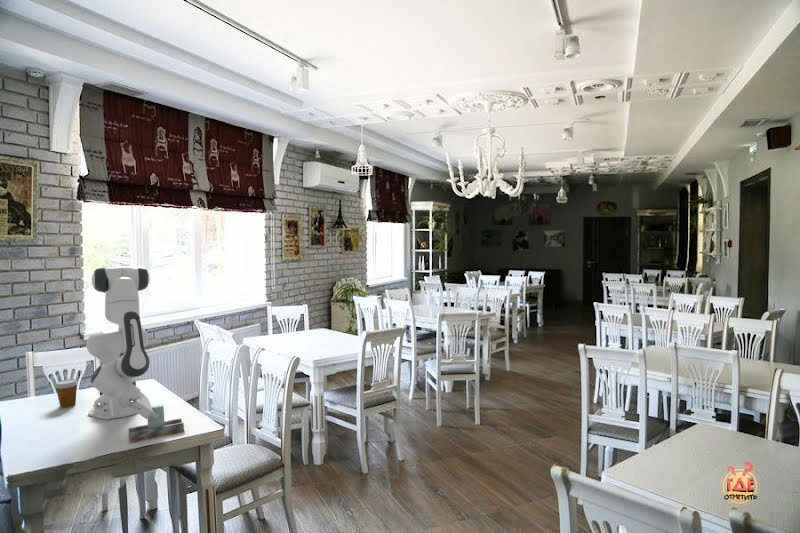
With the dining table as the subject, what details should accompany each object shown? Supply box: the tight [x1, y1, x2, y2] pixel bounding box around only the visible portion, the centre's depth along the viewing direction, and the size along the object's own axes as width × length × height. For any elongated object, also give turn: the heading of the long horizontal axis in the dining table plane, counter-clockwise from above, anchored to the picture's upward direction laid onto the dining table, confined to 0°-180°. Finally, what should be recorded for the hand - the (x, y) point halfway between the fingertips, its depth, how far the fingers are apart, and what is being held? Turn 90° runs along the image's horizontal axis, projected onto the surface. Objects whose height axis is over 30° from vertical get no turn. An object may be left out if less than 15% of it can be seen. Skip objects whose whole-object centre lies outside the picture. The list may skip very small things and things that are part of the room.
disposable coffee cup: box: [54, 378, 79, 409], centre depth 257 cm, size 10×10×12 cm
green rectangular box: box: [147, 404, 165, 429], centre depth 217 cm, size 6×2×9 cm, turn 120°
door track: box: [128, 417, 185, 444], centre depth 217 cm, size 20×9×4 cm, turn 120°
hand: (157, 415), depth 217 cm, fingers closed on green rectangular box, 2 cm apart
